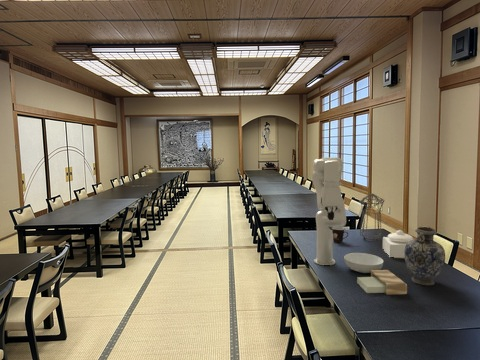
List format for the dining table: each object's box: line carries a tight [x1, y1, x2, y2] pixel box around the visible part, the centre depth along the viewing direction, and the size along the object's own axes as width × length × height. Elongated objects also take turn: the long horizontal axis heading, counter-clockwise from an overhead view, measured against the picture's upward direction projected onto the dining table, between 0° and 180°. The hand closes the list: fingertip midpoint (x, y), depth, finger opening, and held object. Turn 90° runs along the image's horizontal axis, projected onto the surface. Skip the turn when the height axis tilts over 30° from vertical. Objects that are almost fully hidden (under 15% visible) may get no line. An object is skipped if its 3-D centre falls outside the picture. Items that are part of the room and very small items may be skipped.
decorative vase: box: [404, 226, 446, 287], centre depth 176 cm, size 21×19×28 cm
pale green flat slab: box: [356, 276, 386, 294], centre depth 170 cm, size 12×16×3 cm
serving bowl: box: [343, 252, 384, 274], centre depth 193 cm, size 21×21×7 cm
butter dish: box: [381, 229, 414, 259], centre depth 221 cm, size 18×18×16 cm
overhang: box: [370, 269, 408, 296], centre depth 171 cm, size 17×10×5 cm, turn 3°
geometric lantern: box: [358, 193, 385, 242], centre depth 252 cm, size 16×16×35 cm
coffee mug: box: [331, 227, 349, 244], centre depth 247 cm, size 12×9×10 cm
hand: (330, 219), depth 178 cm, fingers closed
